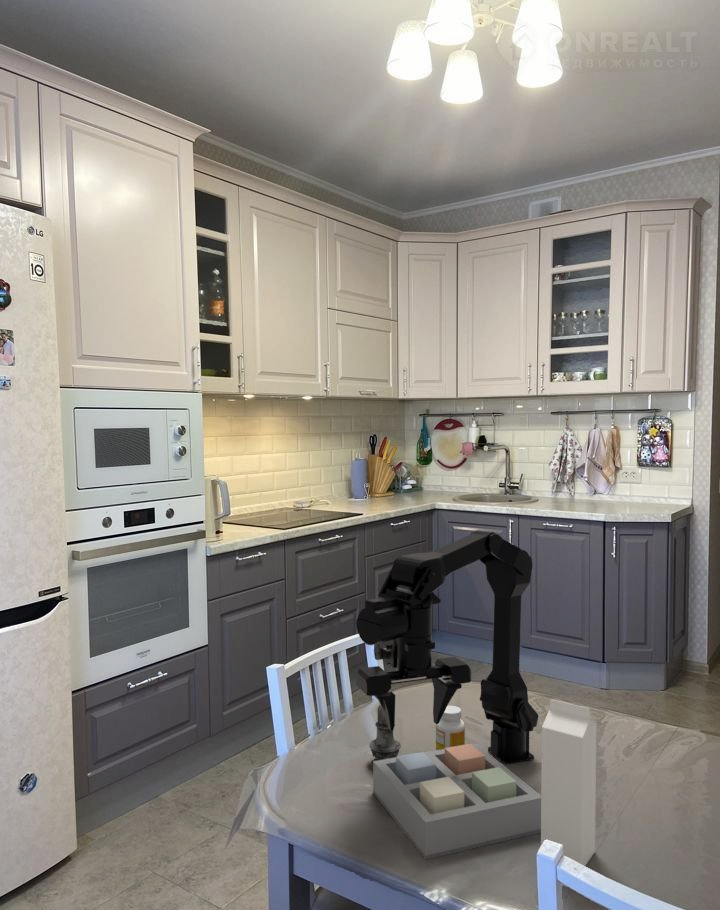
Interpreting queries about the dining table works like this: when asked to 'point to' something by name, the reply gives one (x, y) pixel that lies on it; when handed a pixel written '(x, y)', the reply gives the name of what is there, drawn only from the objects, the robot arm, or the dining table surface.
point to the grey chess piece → (383, 740)
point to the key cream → (441, 795)
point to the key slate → (415, 768)
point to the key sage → (493, 785)
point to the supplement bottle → (450, 729)
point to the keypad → (456, 810)
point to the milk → (569, 779)
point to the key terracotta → (464, 759)
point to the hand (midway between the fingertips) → (413, 726)
